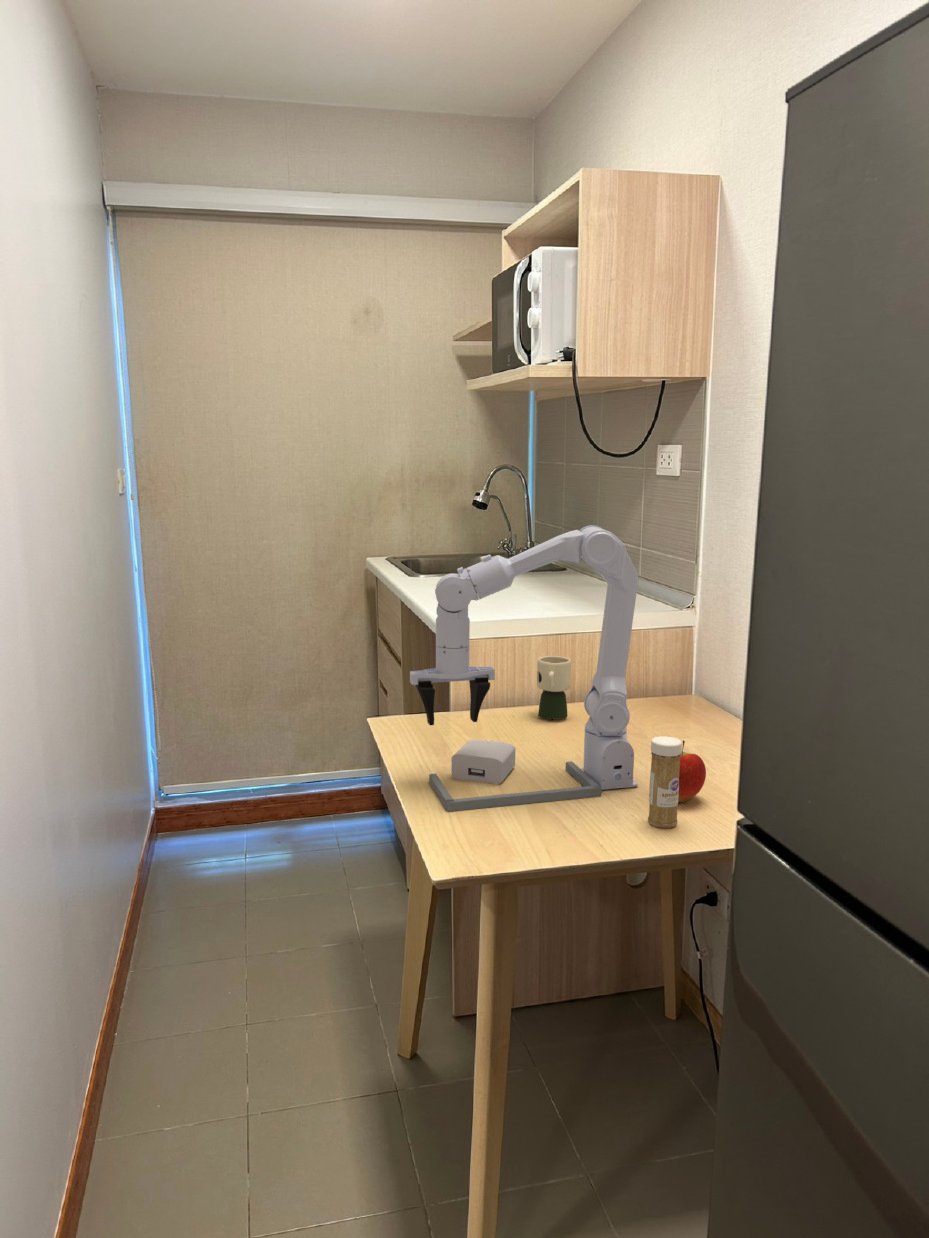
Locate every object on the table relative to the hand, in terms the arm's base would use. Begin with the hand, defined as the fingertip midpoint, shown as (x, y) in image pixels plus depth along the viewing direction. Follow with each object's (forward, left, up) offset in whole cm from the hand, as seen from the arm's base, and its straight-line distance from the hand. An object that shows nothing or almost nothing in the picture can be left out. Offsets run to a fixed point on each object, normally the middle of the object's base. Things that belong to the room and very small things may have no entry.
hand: (452, 722), depth 154 cm
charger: (+4, -8, -11) cm, 14 cm away
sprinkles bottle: (-26, -27, -11) cm, 39 cm away
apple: (-18, -34, -11) cm, 40 cm away
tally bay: (-6, -9, -10) cm, 15 cm away
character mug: (+30, -30, -11) cm, 44 cm away
